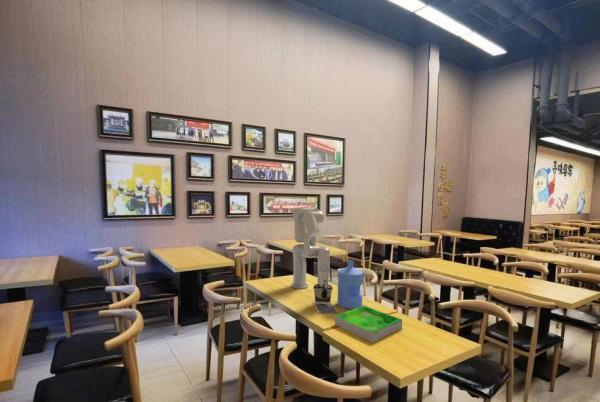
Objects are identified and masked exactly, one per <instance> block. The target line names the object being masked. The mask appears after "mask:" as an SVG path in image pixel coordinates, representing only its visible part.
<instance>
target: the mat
mask: <svg viewBox="0 0 600 402" xmlns="http://www.w3.org/2000/svg"><path fill="white" fill-rule="evenodd" d="M311 303H312V305H313V307H314V309H315V310H316V312H317V314H319V315H321V314H323V315H324V314H338V313H339V310H337V308H336V307H335V305H334V304H333V302H332V301H331V300H330V303H327V302H315V301H312V302H311Z"/></svg>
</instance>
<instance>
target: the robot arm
mask: <svg viewBox="0 0 600 402" xmlns="http://www.w3.org/2000/svg"><path fill="white" fill-rule="evenodd" d="M292 217H293V219H292V220H293V221H294V240H295V242H296V243H297V244H295V245H293V247H292V249H291V251H292V257H293V271H292V272H293V274H292V275H293V276H292V279H293V280H292V281H293V282H292V283H291V284H290V286H291V288H293V289H297V290H298V289H299V290H301V289H302V290H304V289H306V288H307V289H308V287H309V284H307V262H306V260H305V258H309V259H312V258H317V284H319V286H320V287H322V298H327V286H328V284H329V271H330V261H331V260H330V258H331V257H330V255H331V254H330V253H331V251H330V248H328V247H326V246H325V245H323V244H322V245H321V244H319V245H317V241H316V240H317V238H316V237H317V236H316V235H318V234H319V233H320V227H319V224H322V223H323V222H324V221H325V216H324V213H323V212H322V211H321V210H320V209H318V207H317V208H316V207H314V206H310V207H309V206H303V207H301V206H300V207H296V208H294V209H293V211H292ZM298 243H299V244H298ZM301 243H302V244H301ZM323 285H324V286H323ZM323 287H324V289H323Z"/></svg>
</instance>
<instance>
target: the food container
mask: <svg viewBox="0 0 600 402" xmlns="http://www.w3.org/2000/svg"><path fill="white" fill-rule="evenodd" d="M323 286H324V285H323ZM333 288H334V287H333V286H332V285H331V284H329V283H328V286H327V298H322V287H320V286H319V284H318V283H315V284H314V285H313V287H312V289H313V292H314V302H327V303H330V301H331V300H332V299H331V298H332V292H333V290H334V289H333ZM323 289H324V287H323Z"/></svg>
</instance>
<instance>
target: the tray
mask: <svg viewBox="0 0 600 402" xmlns="http://www.w3.org/2000/svg"><path fill="white" fill-rule="evenodd" d="M335 324H336V325H335ZM334 325H335V326H338V327H340V328H342V329H344V330H346V331H348V332H350V333H353V334H354V335H357V336H359V337H361V338H364V339H366V340H367V341H370V342H372V343H374V342H377V341H379V340H381V339H383V338H384V337H387V336H389V335H391V334H393V333H394V332H397V331H399V330H401V329H402V328H403V319H402V318H399V317H396V316H394V315H391V314H389V313H386V312H382V311H380V310H378V309H376V308H372V307H370V306H367V305H362V306H361V307H359V308H356V309H351V310H350V309H349V310H347V311H345V312H343V313H339V314H337V315H336V314H335V316H334Z"/></svg>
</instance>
